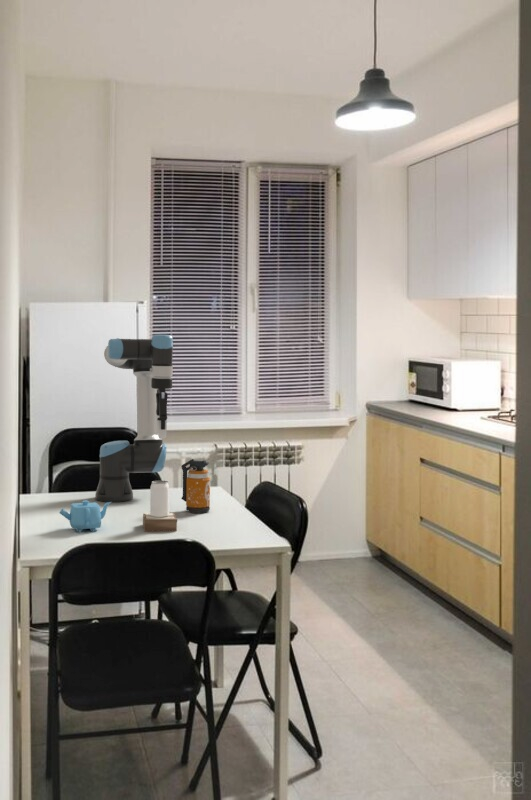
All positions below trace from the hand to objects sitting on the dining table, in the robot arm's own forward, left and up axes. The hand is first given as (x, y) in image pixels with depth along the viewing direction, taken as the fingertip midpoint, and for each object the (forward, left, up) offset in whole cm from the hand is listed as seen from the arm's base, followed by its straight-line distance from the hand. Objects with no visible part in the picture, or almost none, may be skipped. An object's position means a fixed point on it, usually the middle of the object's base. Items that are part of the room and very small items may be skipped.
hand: (161, 435), depth 328 cm
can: (+14, -1, -27) cm, 30 cm away
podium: (+14, -1, -31) cm, 34 cm away
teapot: (+13, -27, -31) cm, 43 cm away
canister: (-13, +14, -31) cm, 36 cm away
